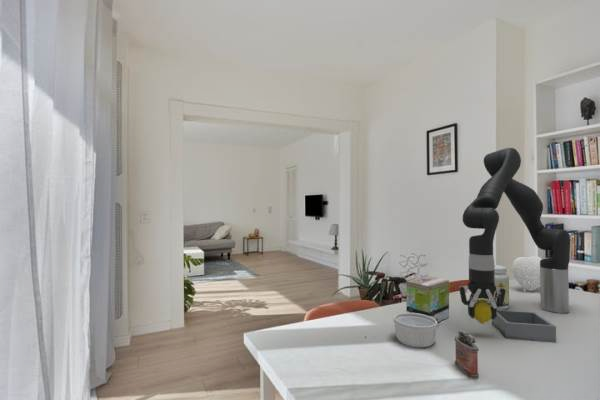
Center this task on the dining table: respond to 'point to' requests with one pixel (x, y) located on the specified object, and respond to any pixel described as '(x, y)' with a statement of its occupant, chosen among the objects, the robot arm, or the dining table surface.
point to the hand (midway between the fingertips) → (482, 317)
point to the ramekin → (415, 329)
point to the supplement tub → (500, 281)
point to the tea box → (428, 297)
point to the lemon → (482, 311)
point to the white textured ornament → (527, 272)
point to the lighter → (466, 354)
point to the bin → (524, 326)
